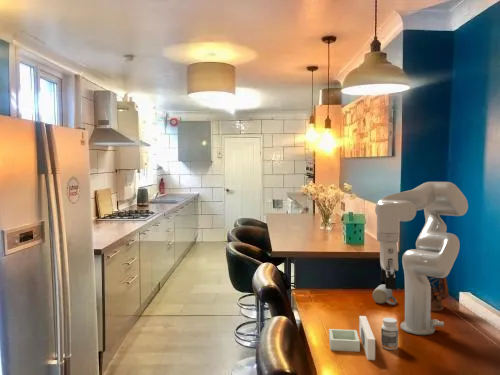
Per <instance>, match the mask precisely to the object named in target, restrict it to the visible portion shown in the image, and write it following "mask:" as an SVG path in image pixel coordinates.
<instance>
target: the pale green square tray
mask: <svg viewBox="0 0 500 375" xmlns="http://www.w3.org/2000/svg"><path fill="white" fill-rule="evenodd" d="M358 333H359V332H358V331H357V329H340V328H329V329H328V334H329V335H328V338H329V349H330V351H335V352H336V351H338V352H341V351H342V352H357V353H358V352H361V341H360V340H361V339H360V336H359V334H358Z"/></svg>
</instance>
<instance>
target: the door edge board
mask: <svg viewBox="0 0 500 375" xmlns="http://www.w3.org/2000/svg"><path fill="white" fill-rule="evenodd" d="M358 317H359V320H358V321H359V323H358V324H359V327H358V328H359V332H358V333H359V334H358V335H359V338H360V340H361V343H362V346H363V349H364V352H365V356H366V359H367V361H375V360H376V338H375V334H374V333H373V331H372V328H371V326H370V323H369V321H368V320H369V319H368V318H367V316H366V315H359V316H358Z"/></svg>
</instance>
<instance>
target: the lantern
mask: <svg viewBox="0 0 500 375" xmlns="http://www.w3.org/2000/svg"><path fill="white" fill-rule="evenodd" d="M432 279H434V281H432V282H431V280H432ZM428 280H429V282H430V285H431V284H432V286H433V287H432V286H431V312H437V311H439V312H440V311H443V310H444V306H443V300H445V299H446V298H448V297H449V294H450V293H449V286H448V279H447V276H446V277H445V278H436V277H431V278H428ZM437 281H438V285H437V287H436V286H435V284H434V283H435V282H437ZM437 293H438V294H437ZM436 294H437V295H436Z"/></svg>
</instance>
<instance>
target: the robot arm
mask: <svg viewBox="0 0 500 375" xmlns="http://www.w3.org/2000/svg"><path fill="white" fill-rule="evenodd" d="M374 207H375V209H374V211H375V215H376V241H377V242H379V262H380V268H381V270H380V280H381V282H385V288H386V289H391V290H396V273H395V272H398V271H399V254H398V253H399V252H398V251H399V250H398V243H399V242H400V222H410V221H412V220H414V218H415V217H416V215H417V211H422V210H423V212H424V218H425V223H424V225H423V227H422V229H421V231H420V233H419V235H418V236H417V239H416V241H415V248H414V249H413V248H411V249H407V250H406V251H404V252H403V254H402V258H401V260H402V269H403V274H404V321H402V322H401V323H400V329H401V330H402V331H404V332H405V333H408V334H412V335H416V336H427V335H429V336H430V335H432V334H435V331H436V327H439V328H440V327H445V322H444V321H440V320H439V319H433V318H432V317H431V316H432V315H431V314H432V311H431V287H432V286H431V284H430V283H431V282H430V280H428V279H429V278H428V277H431V278H434V277H436V278H435V279H438V278H439V279H441V278H445V277H446V278H447V277H448V275H449V274H450V272H451V270H452V268H453V266H454V263H455V261H456V259H457V258H458V255H459V252H460V246H461V245H460V240H459V237H458V236H457V235H456V234H454V233H451V232H447V231H448V230H447V228H448V227H447V224H446V223H445V222H444V220H443V218H441V216H453V217H460V216H461V217H462V216H464V215H465V214H466V213H467V212H468V209H469V203H468V200H467V197H466V196H465V195H464V193H463V192H462V191H461V189H460V188H459V187H458V186H457V185H456V184H455V183H453V182H450V181H427V182H423V183H422V184H420V185H418V186H416V187H415V188H413V189H409V190H406V191H401V192H395V193H392V194H388V195H386V196H383V197H382V198H381V199H379V200H378V202H376V204H375V206H374Z"/></svg>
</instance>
